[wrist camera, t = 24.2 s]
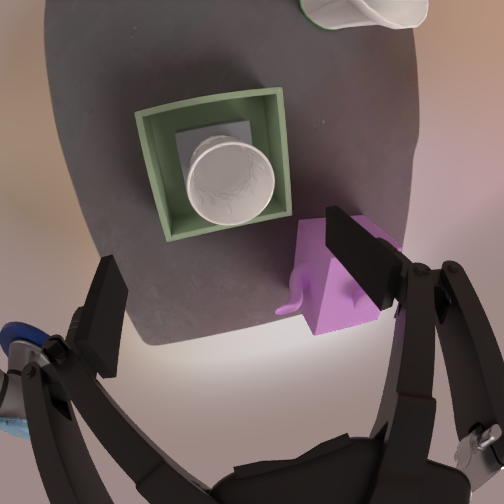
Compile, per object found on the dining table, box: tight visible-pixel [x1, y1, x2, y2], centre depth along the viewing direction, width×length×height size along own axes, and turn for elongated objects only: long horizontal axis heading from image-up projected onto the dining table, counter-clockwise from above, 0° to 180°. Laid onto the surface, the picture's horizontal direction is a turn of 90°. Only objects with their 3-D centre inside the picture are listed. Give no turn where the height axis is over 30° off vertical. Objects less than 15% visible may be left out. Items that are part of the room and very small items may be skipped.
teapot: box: [275, 215, 402, 335], centre depth 44 cm, size 15×25×14 cm, turn 89°
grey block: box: [175, 118, 253, 202], centre depth 34 cm, size 9×9×4 cm
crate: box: [135, 87, 292, 242], centre depth 33 cm, size 17×17×7 cm
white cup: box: [187, 135, 275, 226], centre depth 28 cm, size 8×8×10 cm
